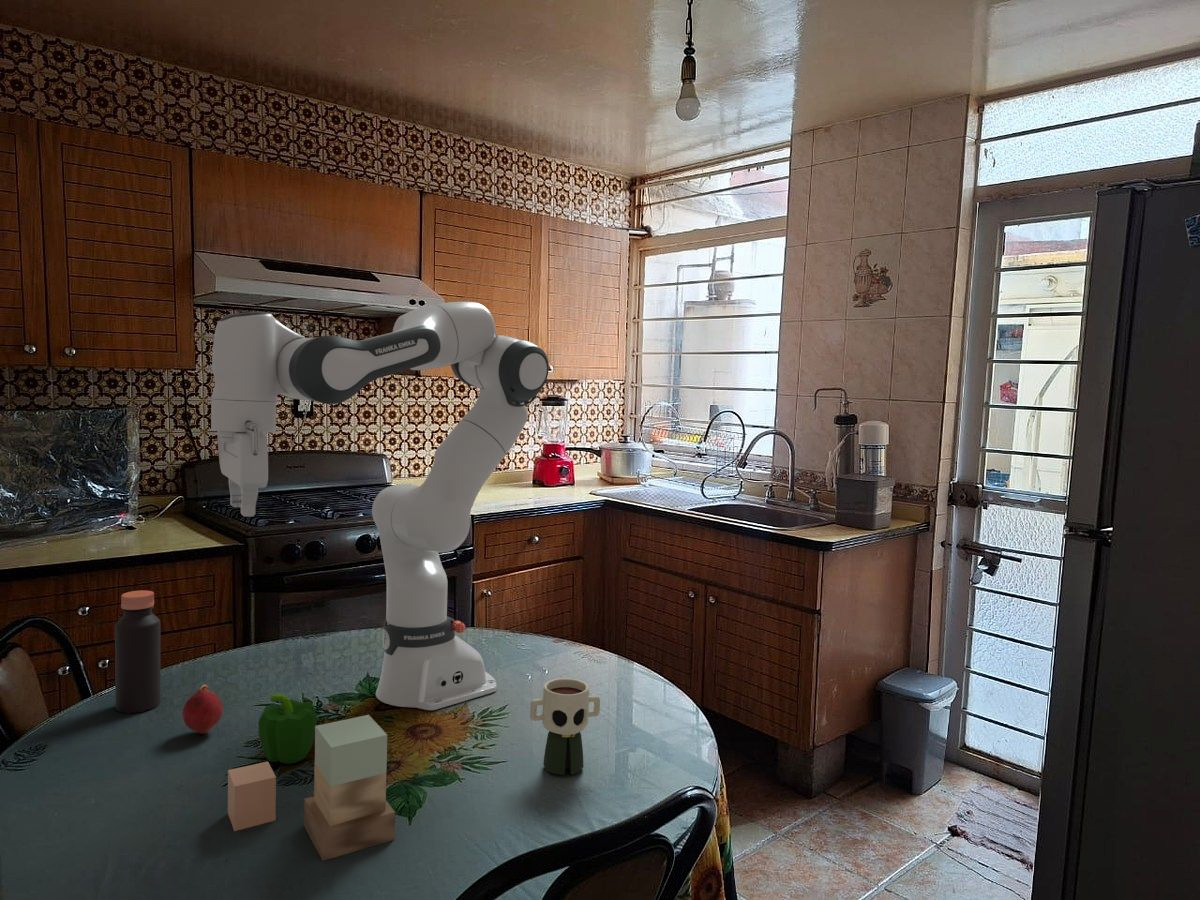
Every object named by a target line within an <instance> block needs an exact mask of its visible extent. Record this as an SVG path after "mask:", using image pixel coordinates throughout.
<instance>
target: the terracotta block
mask: <svg viewBox="0 0 1200 900" xmlns="http://www.w3.org/2000/svg"><path fill="white" fill-rule="evenodd" d="M269 762H270V761H263V762H259V763H255V764H250V765H245V766H241V767H237V768H231V769H227V816H228V818H229V820H230V823H231V825H232V830H233V832H236V831H239V830H240V831H241V830H244V829H249V828H252V827H256V826H260V825H263V824H268V823H271V822H276V817H277V816H276V815H277V814H276V813H277V811H276V809H277V808H276V806H277V805H276V803H277V799H276V797H277V776H276V775H275V772H274V770H273V768H272V767H271V765H270V763H269Z"/></svg>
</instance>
